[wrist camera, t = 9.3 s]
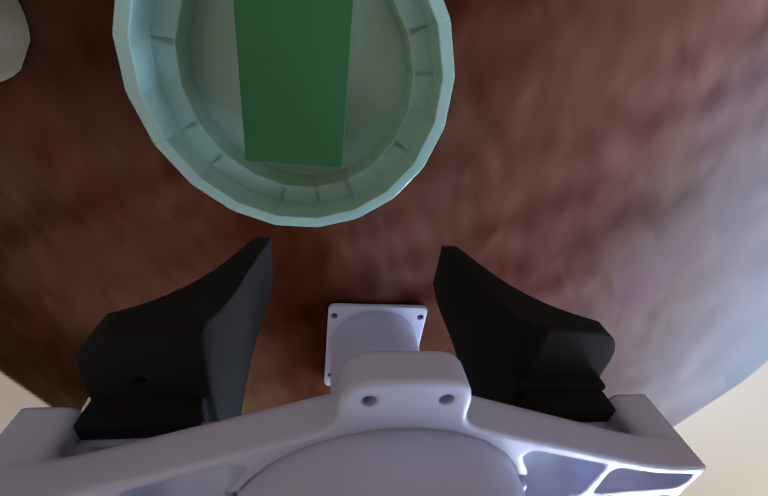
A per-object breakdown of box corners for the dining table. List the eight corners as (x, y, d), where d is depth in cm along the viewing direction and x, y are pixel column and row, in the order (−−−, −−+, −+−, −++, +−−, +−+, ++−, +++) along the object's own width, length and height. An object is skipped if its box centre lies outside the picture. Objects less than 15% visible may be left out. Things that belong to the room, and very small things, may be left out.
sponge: (341, 143, 21) (342, 168, 17) (262, 136, 20) (245, 160, 16) (350, 1, 17) (353, -7, 14) (255, -14, 17) (230, -27, 13)
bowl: (409, 201, 24) (423, 233, 20) (186, 186, 22) (154, 218, 18) (456, -71, 17) (491, -101, 13) (131, -136, 15) (58, -195, 11)
